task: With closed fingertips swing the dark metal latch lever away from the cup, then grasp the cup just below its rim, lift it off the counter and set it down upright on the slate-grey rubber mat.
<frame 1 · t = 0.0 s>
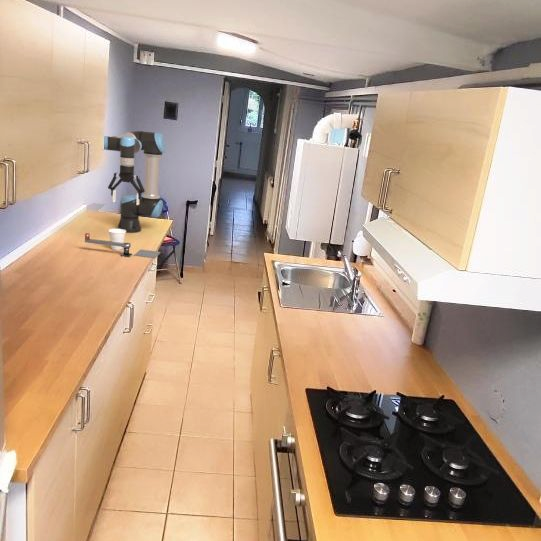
hand: (126, 203, 308), 28 cm above the worktop, fingers open, 13 cm apart
cup: (116, 249, 318), on the worktop
mat: (147, 254, 315), on the worktop
lever: (107, 240, 306), point 7 cm above the worktop, hinge at 0.0°
latch post: (126, 255, 308), on the worktop
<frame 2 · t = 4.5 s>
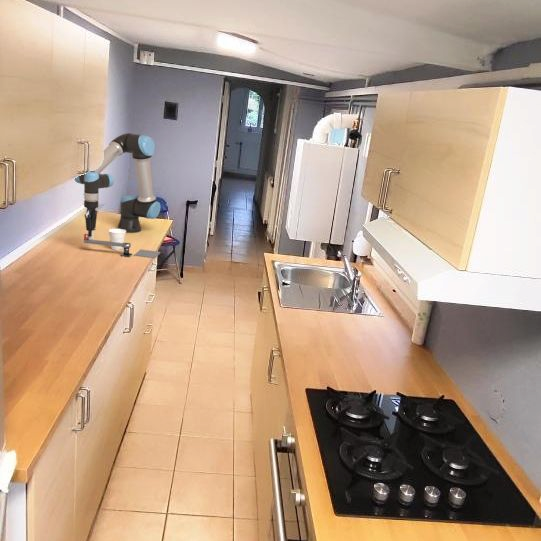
hand: (90, 241, 309), 5 cm above the worktop, fingers closed
lever: (107, 240, 305), point 7 cm above the worktop, hinge at 4.0°, touching gripper
everything else where it was.
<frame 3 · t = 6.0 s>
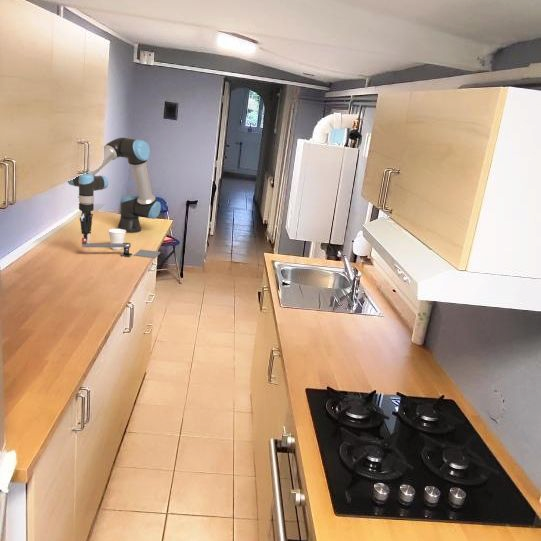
hand: (86, 245, 301), 5 cm above the worktop, fingers closed
lever: (106, 242, 302), point 7 cm above the worktop, hinge at 25.9°, touching gripper
everything else where it was.
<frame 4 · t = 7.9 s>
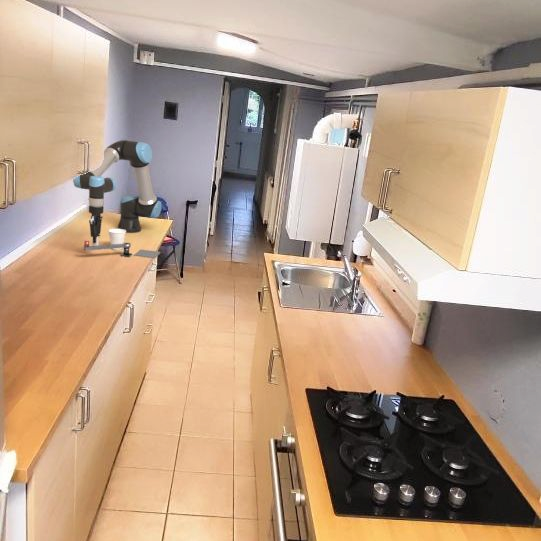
hand: (95, 248, 298), 5 cm above the worktop, fingers closed
lever: (108, 244, 299), point 7 cm above the worktop, hinge at 41.8°, touching gripper
everything else where it was.
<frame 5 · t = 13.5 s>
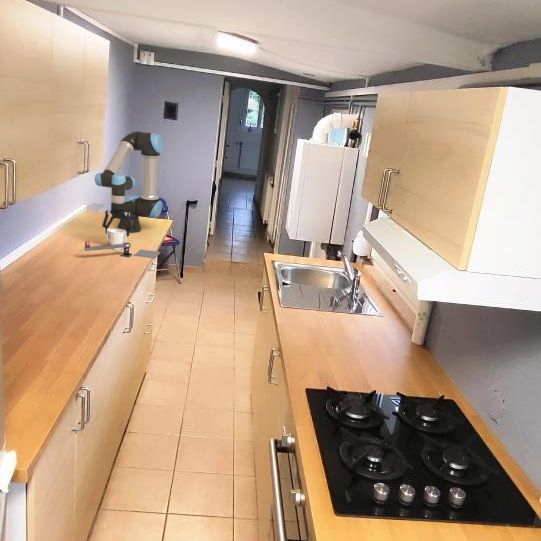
hand: (117, 240, 317), 5 cm above the worktop, fingers closed on cup, 10 cm apart
cup: (116, 249, 318), on the worktop, touching gripper
lever: (108, 244, 299), point 7 cm above the worktop, hinge at 44.1°
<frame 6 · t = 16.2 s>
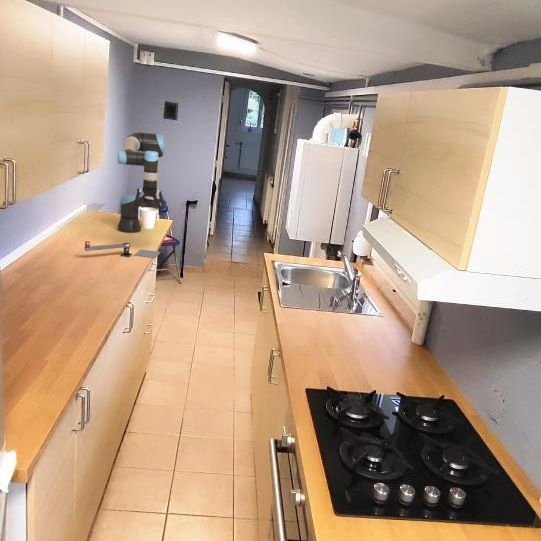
hand: (148, 219, 309), 21 cm above the worktop, fingers closed on cup, 10 cm apart
cup: (148, 228, 310), point 15 cm above the worktop, touching gripper
everything else where it was.
when the fingers open (7 cm above the worktop, at t = 19.3 s): cup stays where it is, resting on mat.
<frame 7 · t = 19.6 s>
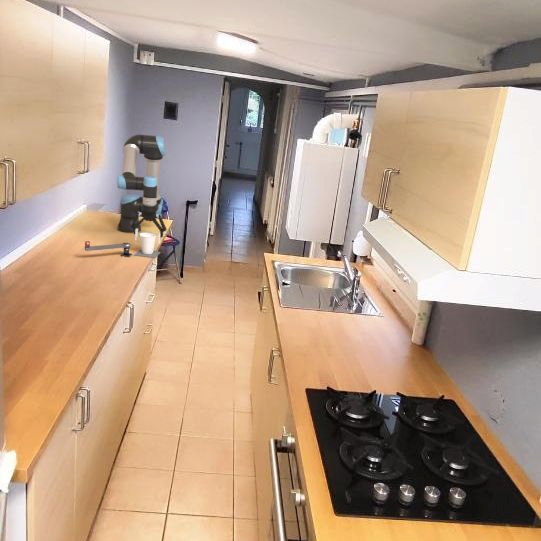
hand: (148, 241, 312), 8 cm above the worktop, fingers open, 13 cm apart
cup: (147, 253, 315), resting on mat
everything else where it was.
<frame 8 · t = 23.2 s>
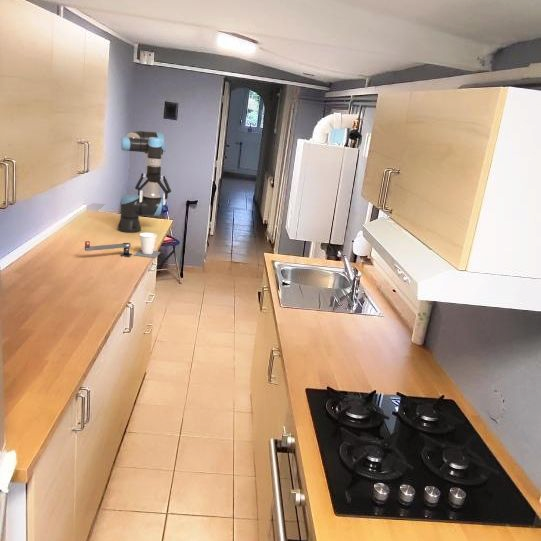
hand: (152, 203, 312), 29 cm above the worktop, fingers open, 13 cm apart
nothing on the worktop moved.
at the end: lever at +44° (first picture: +0°); cup inside the target area on the mat (0.0 cm from its centre), point 0.4 cm above the mat's base; cup tilted 0° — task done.
